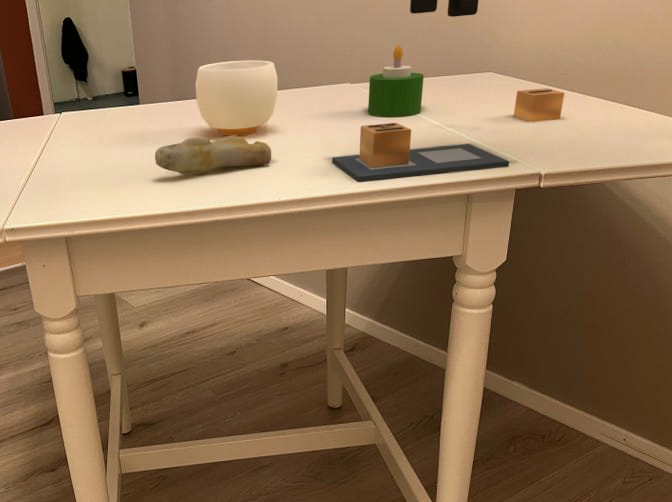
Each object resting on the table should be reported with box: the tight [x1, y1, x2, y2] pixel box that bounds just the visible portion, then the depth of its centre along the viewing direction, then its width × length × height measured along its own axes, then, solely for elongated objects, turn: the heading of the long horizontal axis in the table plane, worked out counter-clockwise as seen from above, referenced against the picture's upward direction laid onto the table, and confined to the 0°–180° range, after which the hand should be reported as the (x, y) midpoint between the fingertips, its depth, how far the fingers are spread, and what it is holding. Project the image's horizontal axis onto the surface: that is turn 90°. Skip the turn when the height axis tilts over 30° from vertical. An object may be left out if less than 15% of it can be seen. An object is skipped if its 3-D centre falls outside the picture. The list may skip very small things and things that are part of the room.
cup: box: [195, 59, 278, 137], centre depth 107 cm, size 12×12×10 cm
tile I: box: [513, 87, 565, 123], centre depth 101 cm, size 4×4×4 cm
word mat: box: [331, 143, 510, 183], centre depth 85 cm, size 18×10×1 cm, turn 97°
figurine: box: [154, 135, 272, 176], centre depth 88 cm, size 5×5×15 cm
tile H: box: [358, 122, 412, 168], centre depth 84 cm, size 4×4×4 cm
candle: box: [367, 44, 425, 118], centre depth 113 cm, size 8×8×10 cm
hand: (441, 13), depth 82 cm, fingers open, 9 cm apart
